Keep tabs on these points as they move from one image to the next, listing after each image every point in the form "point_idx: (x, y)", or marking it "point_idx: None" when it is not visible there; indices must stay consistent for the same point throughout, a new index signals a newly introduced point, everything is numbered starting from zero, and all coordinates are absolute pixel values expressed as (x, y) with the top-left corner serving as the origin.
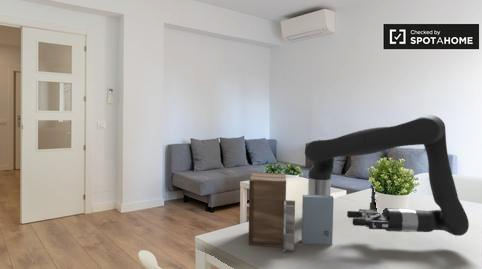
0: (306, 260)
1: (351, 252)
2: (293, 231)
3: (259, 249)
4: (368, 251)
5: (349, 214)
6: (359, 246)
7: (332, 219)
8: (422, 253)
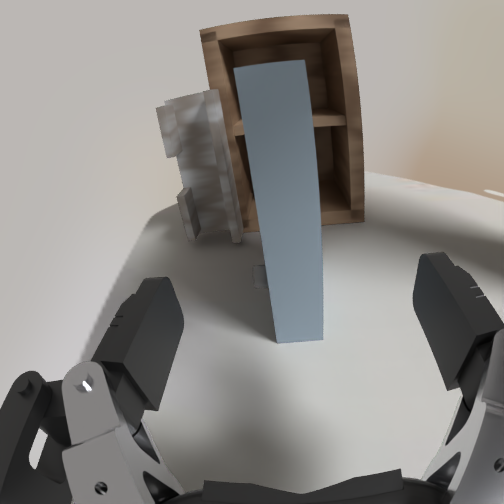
0: (140, 272)
1: (175, 408)
2: (223, 196)
3: None
4: None
5: (423, 288)
6: (267, 472)
7: (258, 220)
8: None
